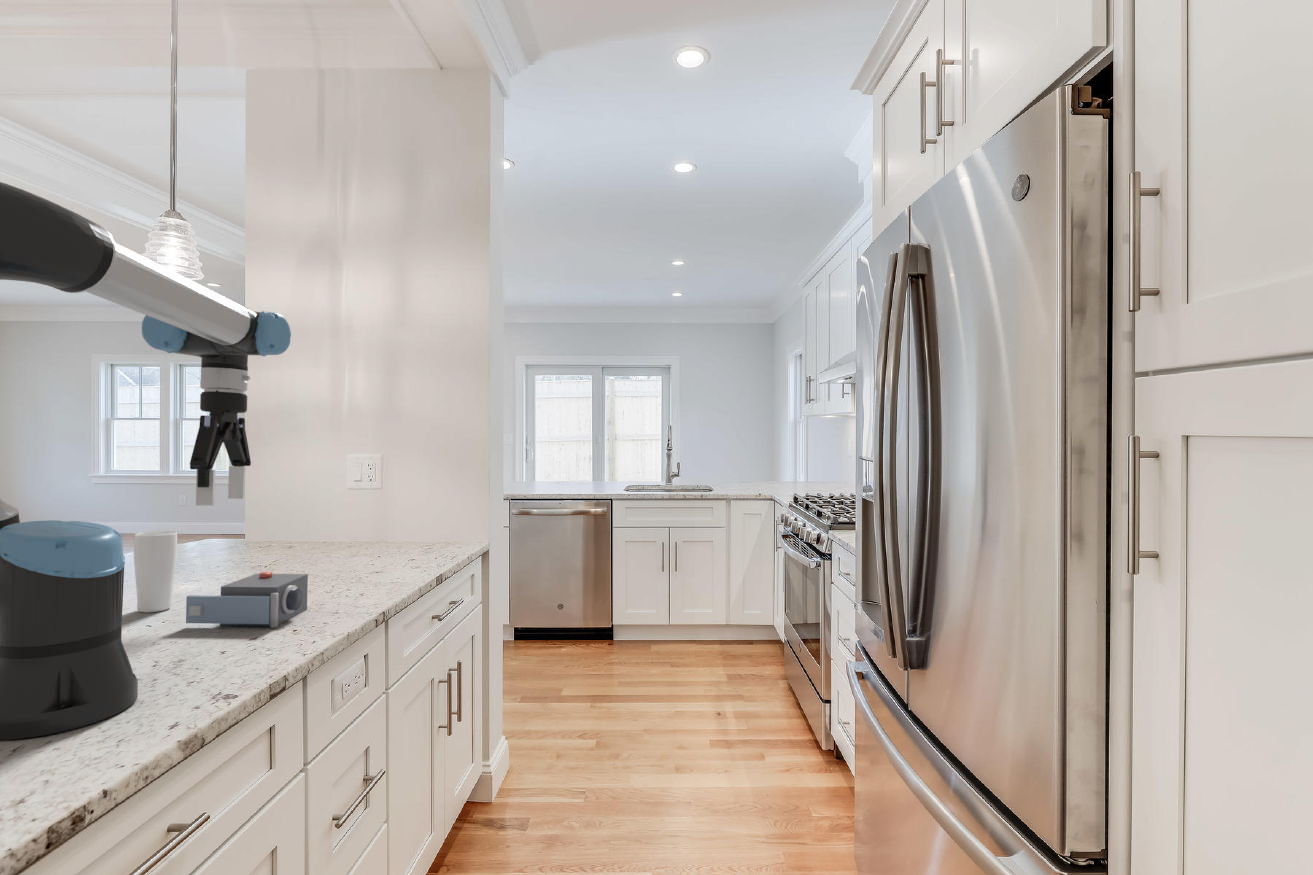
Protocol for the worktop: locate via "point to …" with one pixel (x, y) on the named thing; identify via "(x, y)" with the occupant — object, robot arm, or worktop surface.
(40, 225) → the robot arm
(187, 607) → the side door
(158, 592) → the drinking glass
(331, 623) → the worktop surface
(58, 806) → the worktop surface
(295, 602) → the camera box
